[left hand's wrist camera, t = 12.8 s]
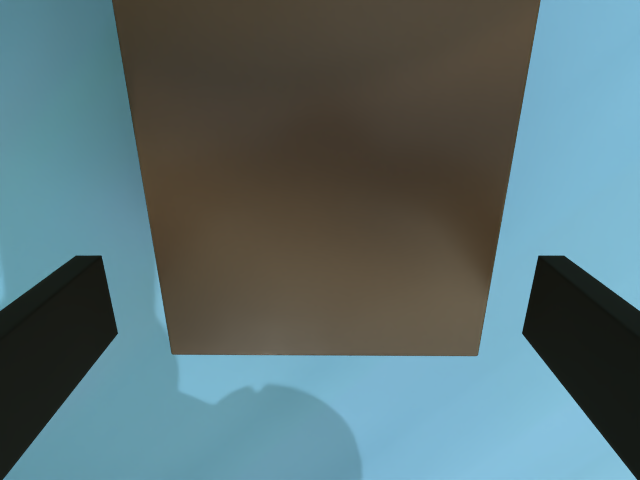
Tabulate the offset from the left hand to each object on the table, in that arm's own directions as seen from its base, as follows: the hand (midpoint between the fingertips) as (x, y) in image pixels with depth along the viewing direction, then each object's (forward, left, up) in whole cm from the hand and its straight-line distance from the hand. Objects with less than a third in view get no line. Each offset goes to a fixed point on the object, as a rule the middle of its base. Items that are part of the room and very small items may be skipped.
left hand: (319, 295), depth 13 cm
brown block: (+3, -4, -9) cm, 11 cm away
